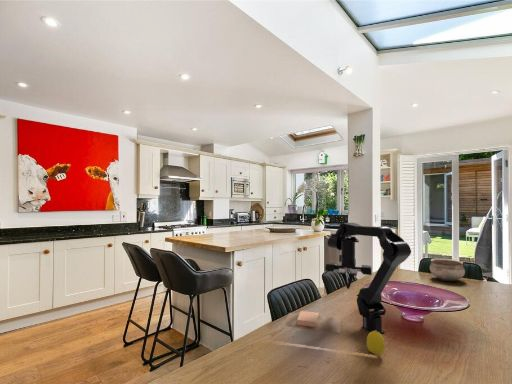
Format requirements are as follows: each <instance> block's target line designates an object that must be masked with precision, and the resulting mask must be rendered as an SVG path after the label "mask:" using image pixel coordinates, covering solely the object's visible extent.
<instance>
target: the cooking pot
mask: <svg viewBox="0 0 512 384" xmlns="http://www.w3.org/2000/svg"><path fill="white" fill-rule="evenodd" d="M430 261H431V262H430V265H429V270H430V273H431V274H432V275H433V276H434V277H436V278H437V279H439V280H440V281H442V282H448V283H452V282H455V281H458V280H460V279H462V278H464V276H465V273H466V270H465V267H464V265H463V264H464V262H463V261H461V260H457V259H449V258H432V259H430Z"/></svg>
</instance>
